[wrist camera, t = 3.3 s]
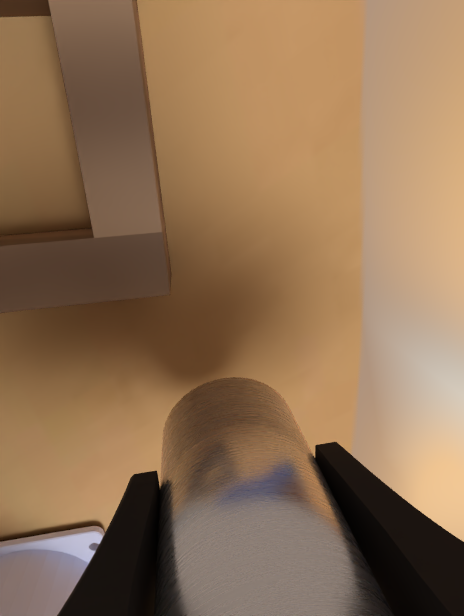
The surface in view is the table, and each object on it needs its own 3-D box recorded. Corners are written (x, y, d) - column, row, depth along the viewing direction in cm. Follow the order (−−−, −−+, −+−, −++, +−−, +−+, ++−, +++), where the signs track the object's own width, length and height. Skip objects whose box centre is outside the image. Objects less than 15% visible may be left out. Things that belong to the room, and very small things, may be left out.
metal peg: (294, 477, 13) (409, 764, 7) (171, 497, 13) (166, 829, 6) (292, 369, 12) (438, 600, 5) (154, 387, 11) (124, 669, 5)
